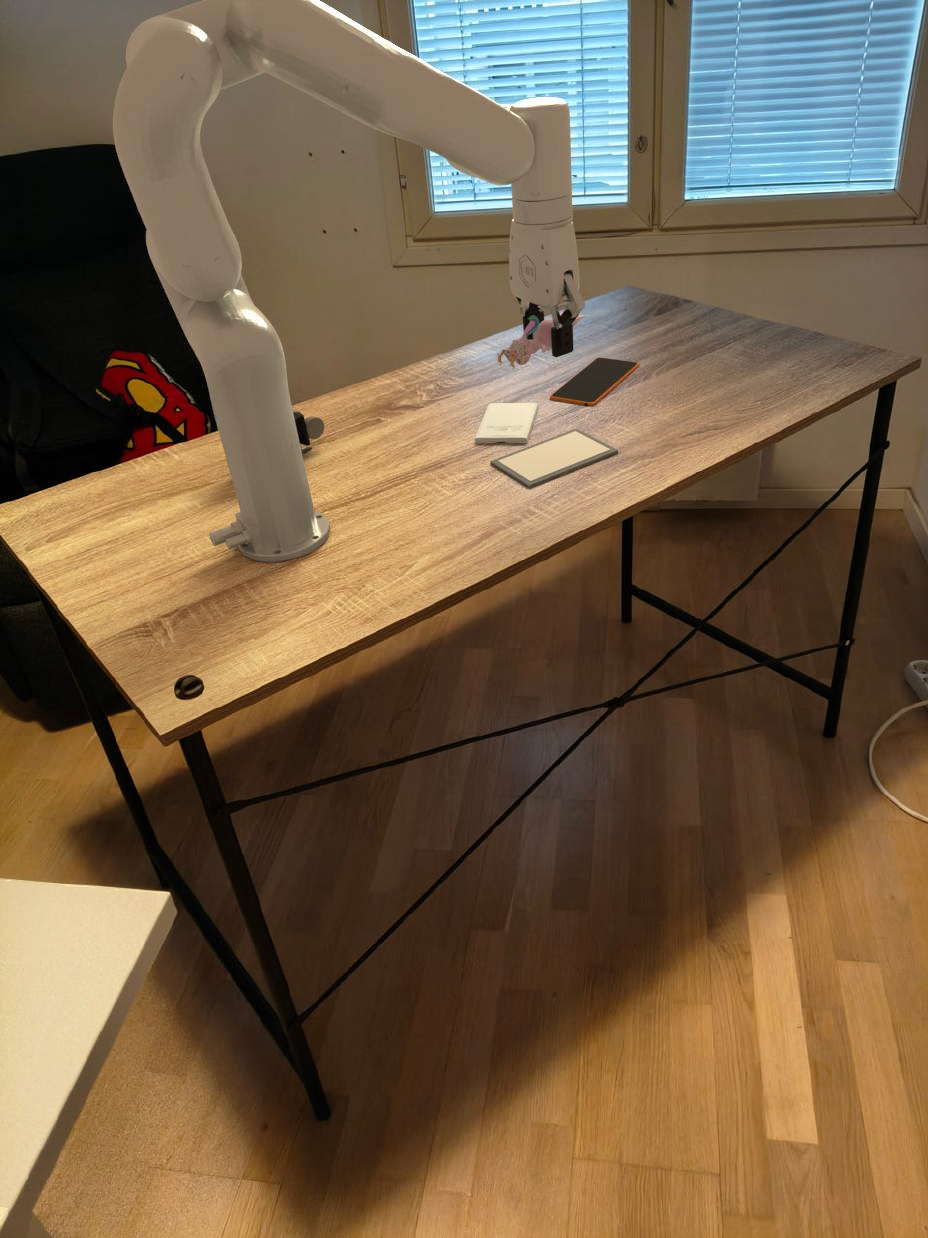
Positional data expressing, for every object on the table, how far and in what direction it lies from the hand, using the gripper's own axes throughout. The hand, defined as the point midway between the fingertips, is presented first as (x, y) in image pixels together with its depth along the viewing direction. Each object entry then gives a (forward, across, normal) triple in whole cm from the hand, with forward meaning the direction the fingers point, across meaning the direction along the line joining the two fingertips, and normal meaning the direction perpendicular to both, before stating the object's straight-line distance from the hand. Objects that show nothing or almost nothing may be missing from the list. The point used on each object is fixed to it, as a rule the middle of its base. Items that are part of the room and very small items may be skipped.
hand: (548, 346), depth 131 cm
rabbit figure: (+1, 0, -1) cm, 1 cm away
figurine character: (+17, -29, -32) cm, 46 cm away
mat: (+17, 0, 0) cm, 17 cm away
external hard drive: (+18, -14, +1) cm, 23 cm away
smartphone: (+18, -18, +22) cm, 33 cm away
